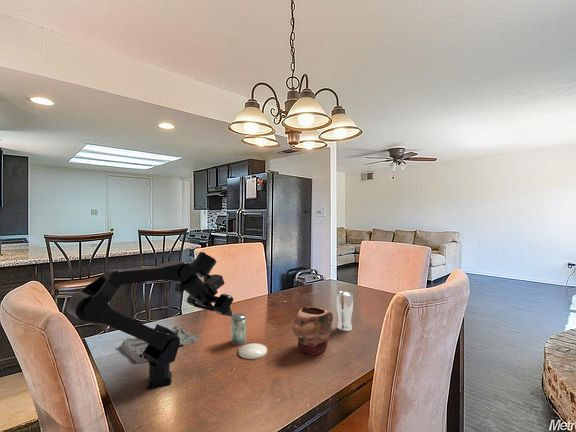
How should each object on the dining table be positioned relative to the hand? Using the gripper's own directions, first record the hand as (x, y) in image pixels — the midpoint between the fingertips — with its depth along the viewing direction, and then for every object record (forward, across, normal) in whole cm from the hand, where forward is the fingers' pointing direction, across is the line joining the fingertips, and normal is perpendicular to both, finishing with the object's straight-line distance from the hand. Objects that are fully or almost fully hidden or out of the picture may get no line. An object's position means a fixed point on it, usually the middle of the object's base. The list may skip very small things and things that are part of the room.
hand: (222, 312), depth 103 cm
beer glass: (+41, -27, -22) cm, 54 cm away
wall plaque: (+3, +22, +17) cm, 28 cm away
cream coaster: (+13, -10, +6) cm, 18 cm away
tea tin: (+15, 0, +4) cm, 16 cm away
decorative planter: (+25, -26, -5) cm, 36 cm away
